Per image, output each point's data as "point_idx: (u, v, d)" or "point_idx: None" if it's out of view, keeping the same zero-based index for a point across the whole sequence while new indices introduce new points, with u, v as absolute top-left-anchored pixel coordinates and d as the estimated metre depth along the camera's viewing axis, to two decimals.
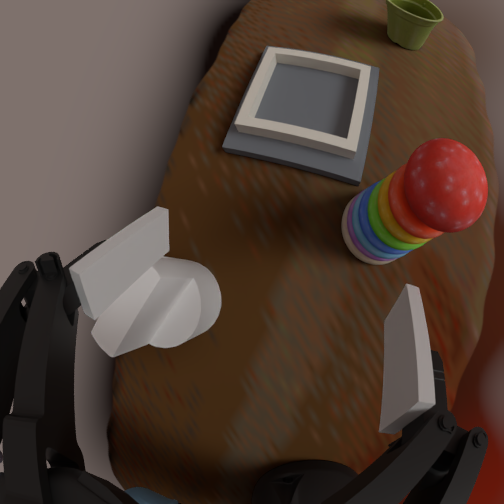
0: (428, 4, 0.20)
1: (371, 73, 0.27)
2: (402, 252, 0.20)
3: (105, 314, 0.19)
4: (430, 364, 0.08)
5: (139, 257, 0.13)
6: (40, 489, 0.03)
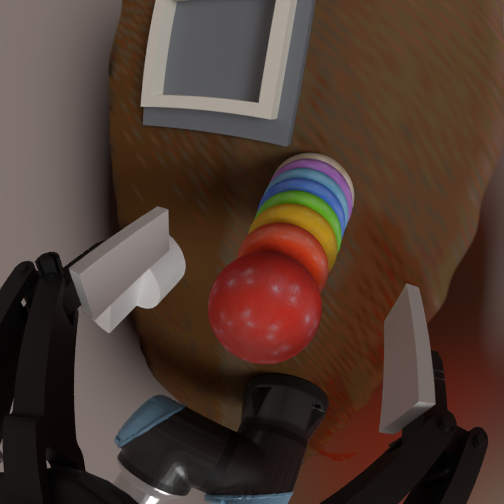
0: None
1: None
2: None
3: None
4: (430, 364, 0.08)
5: (139, 257, 0.13)
6: (40, 489, 0.03)
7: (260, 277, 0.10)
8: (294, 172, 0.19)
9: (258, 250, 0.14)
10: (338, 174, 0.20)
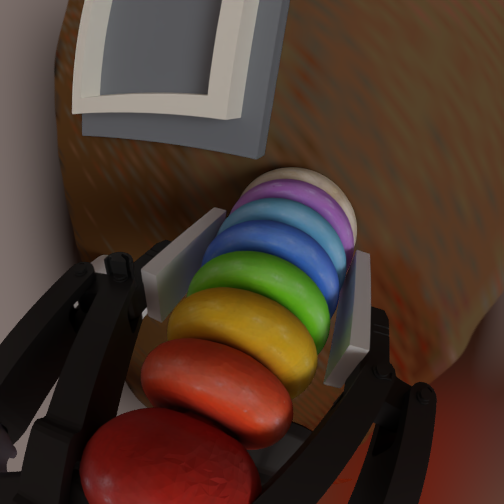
0: None
1: None
2: None
3: None
4: (369, 316, 0.10)
5: (201, 257, 0.14)
6: (40, 489, 0.03)
7: (122, 501, 0.03)
8: (258, 207, 0.12)
9: (159, 392, 0.06)
10: (333, 205, 0.13)
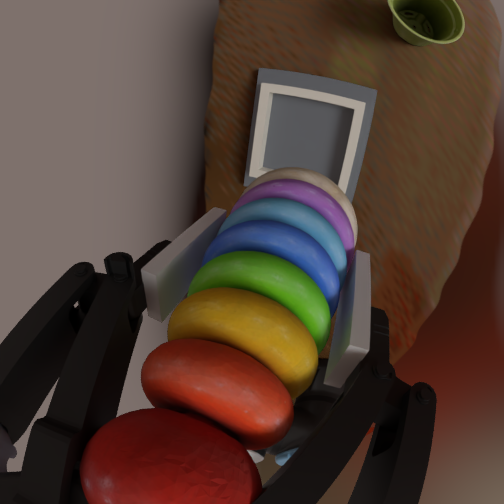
0: None
1: (368, 99, 0.28)
2: None
3: None
4: (369, 316, 0.10)
5: (201, 257, 0.14)
6: (40, 489, 0.03)
7: (122, 502, 0.03)
8: (258, 207, 0.12)
9: (160, 393, 0.06)
10: (333, 205, 0.13)
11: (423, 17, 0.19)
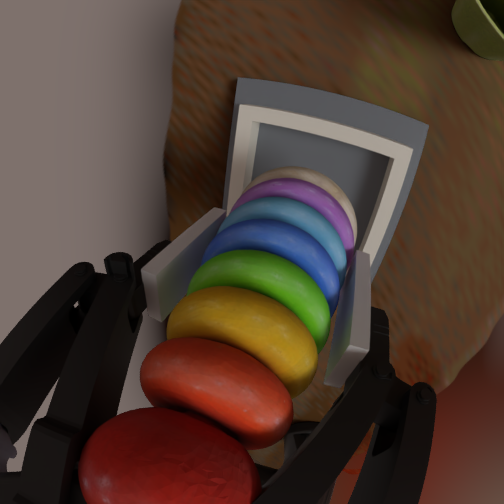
0: None
1: (413, 139, 0.17)
2: None
3: None
4: (369, 316, 0.10)
5: (201, 257, 0.14)
6: (40, 489, 0.03)
7: (121, 501, 0.03)
8: (258, 206, 0.12)
9: (158, 392, 0.06)
10: (333, 204, 0.13)
11: (492, 17, 0.08)
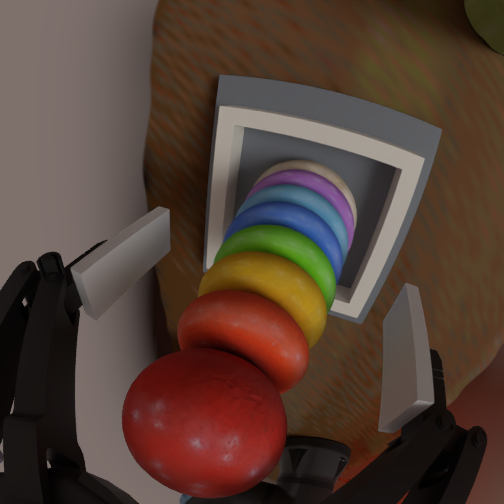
0: None
1: (424, 145, 0.14)
2: None
3: None
4: (429, 363, 0.08)
5: (140, 257, 0.13)
6: (40, 489, 0.03)
7: (173, 421, 0.05)
8: (273, 191, 0.14)
9: (198, 336, 0.08)
10: (336, 192, 0.15)
11: None
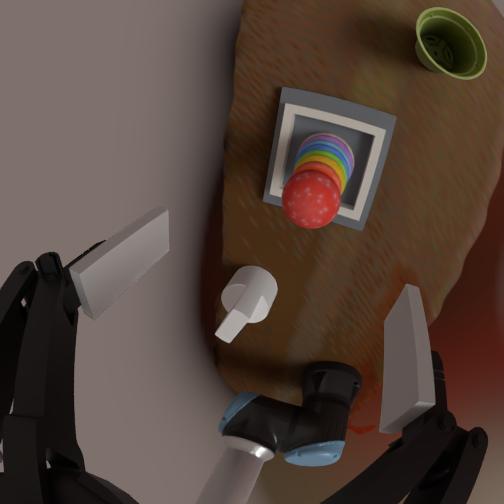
0: (473, 32, 0.14)
1: (387, 125, 0.30)
2: None
3: (222, 328, 0.45)
4: (430, 364, 0.08)
5: (139, 257, 0.13)
6: (40, 489, 0.03)
7: (312, 175, 0.21)
8: (316, 141, 0.30)
9: None
10: (343, 144, 0.31)
11: (445, 44, 0.21)
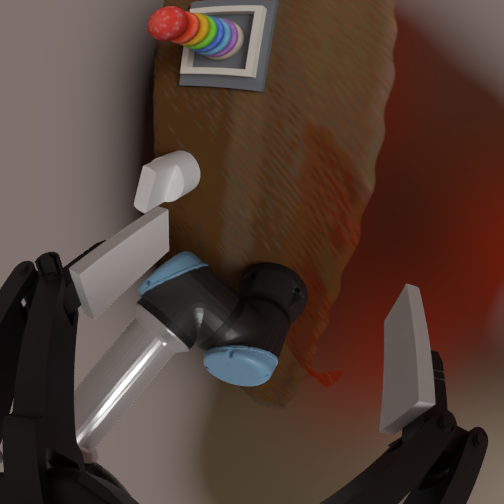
0: None
1: (269, 6, 0.30)
2: (207, 49, 0.31)
3: (138, 194, 0.44)
4: (430, 364, 0.08)
5: (139, 257, 0.13)
6: (40, 489, 0.03)
7: (164, 7, 0.20)
8: None
9: None
10: (227, 20, 0.30)
11: None
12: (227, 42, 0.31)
